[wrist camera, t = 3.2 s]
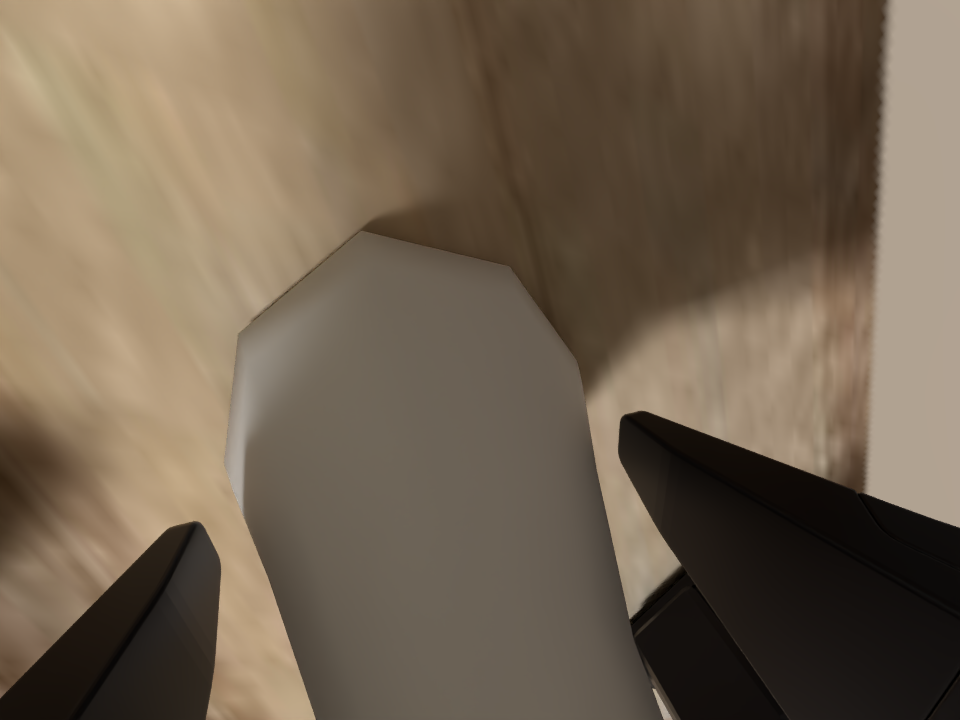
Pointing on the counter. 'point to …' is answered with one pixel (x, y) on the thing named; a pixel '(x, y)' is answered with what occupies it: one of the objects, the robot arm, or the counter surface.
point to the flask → (430, 496)
